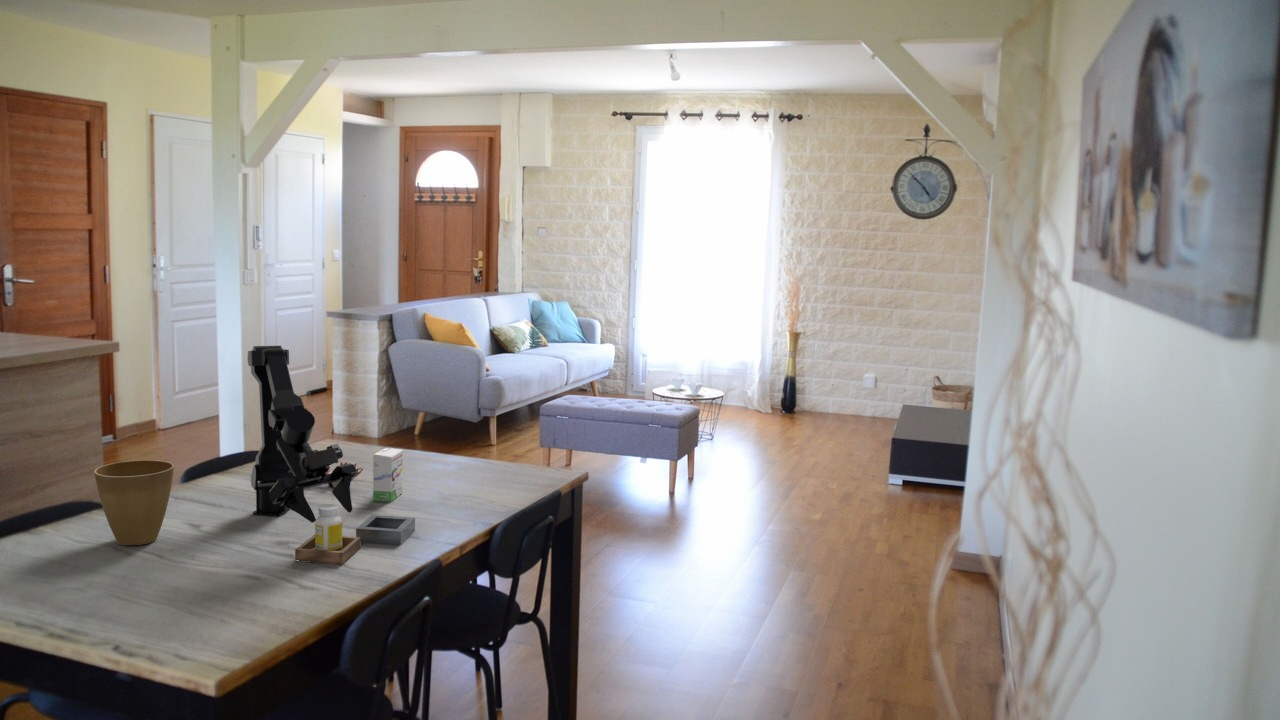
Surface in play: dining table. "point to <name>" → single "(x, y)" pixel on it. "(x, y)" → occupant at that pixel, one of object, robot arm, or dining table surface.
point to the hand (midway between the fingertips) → (332, 516)
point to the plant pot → (135, 498)
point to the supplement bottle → (328, 528)
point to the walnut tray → (325, 556)
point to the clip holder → (386, 529)
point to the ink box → (387, 474)
